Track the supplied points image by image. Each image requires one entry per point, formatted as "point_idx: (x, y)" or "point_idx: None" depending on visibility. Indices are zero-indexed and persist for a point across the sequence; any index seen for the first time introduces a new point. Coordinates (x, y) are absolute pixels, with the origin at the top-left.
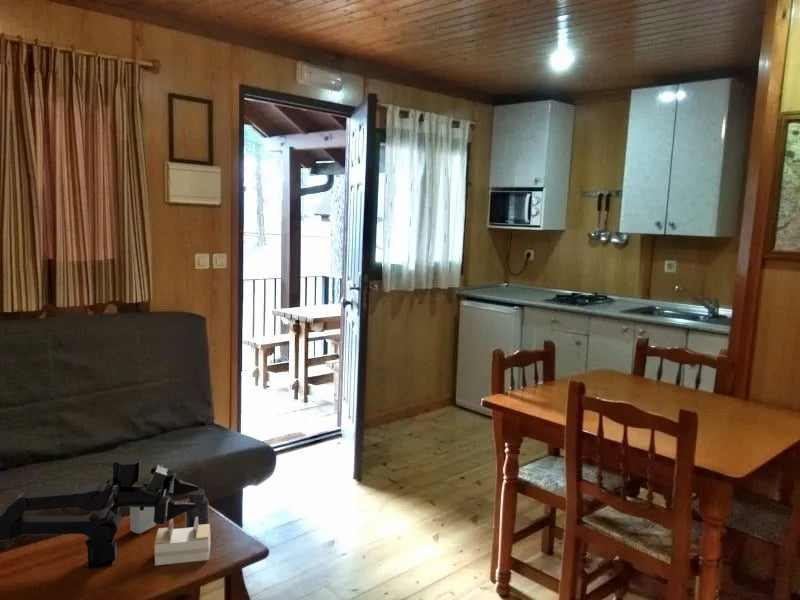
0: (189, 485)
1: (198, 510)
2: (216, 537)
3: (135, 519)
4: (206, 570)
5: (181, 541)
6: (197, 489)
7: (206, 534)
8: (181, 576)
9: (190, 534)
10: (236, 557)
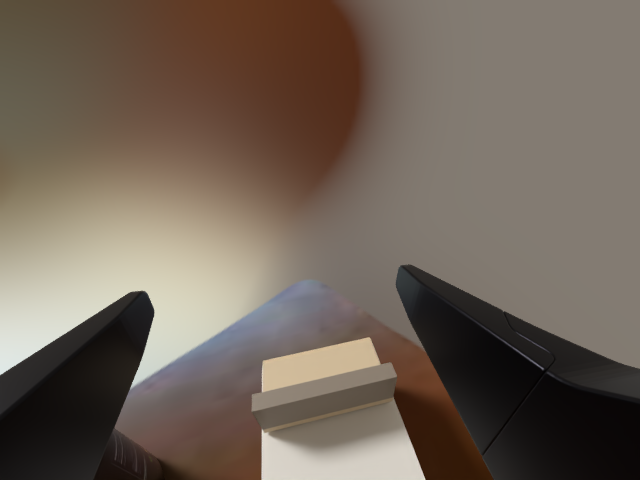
0: (87, 349)
1: (107, 458)
2: (226, 397)
3: None
4: (427, 370)
5: (415, 470)
6: (149, 312)
7: (352, 349)
8: None
9: (336, 439)
10: (348, 312)
